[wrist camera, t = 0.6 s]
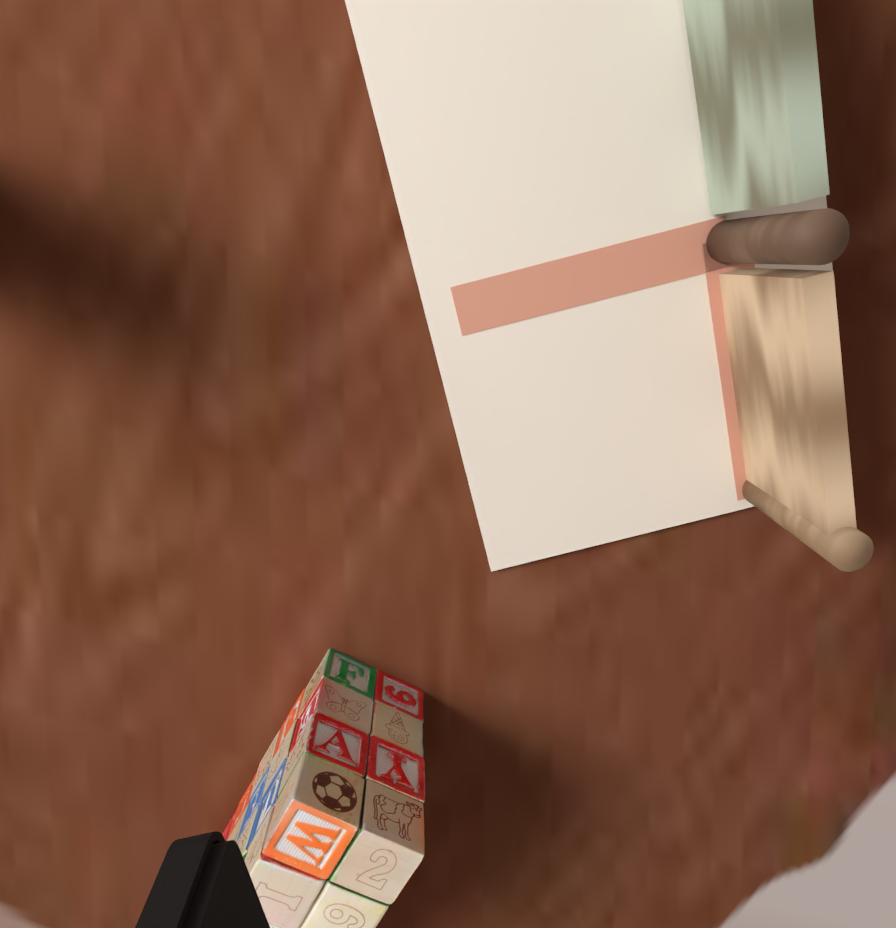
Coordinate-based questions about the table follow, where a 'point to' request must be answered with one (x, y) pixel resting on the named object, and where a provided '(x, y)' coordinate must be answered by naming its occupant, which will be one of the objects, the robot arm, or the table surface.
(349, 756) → the stack of blocks
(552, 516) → the card
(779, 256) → the fixed fence
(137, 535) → the table surface
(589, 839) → the table surface
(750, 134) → the swing panel
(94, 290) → the table surface
